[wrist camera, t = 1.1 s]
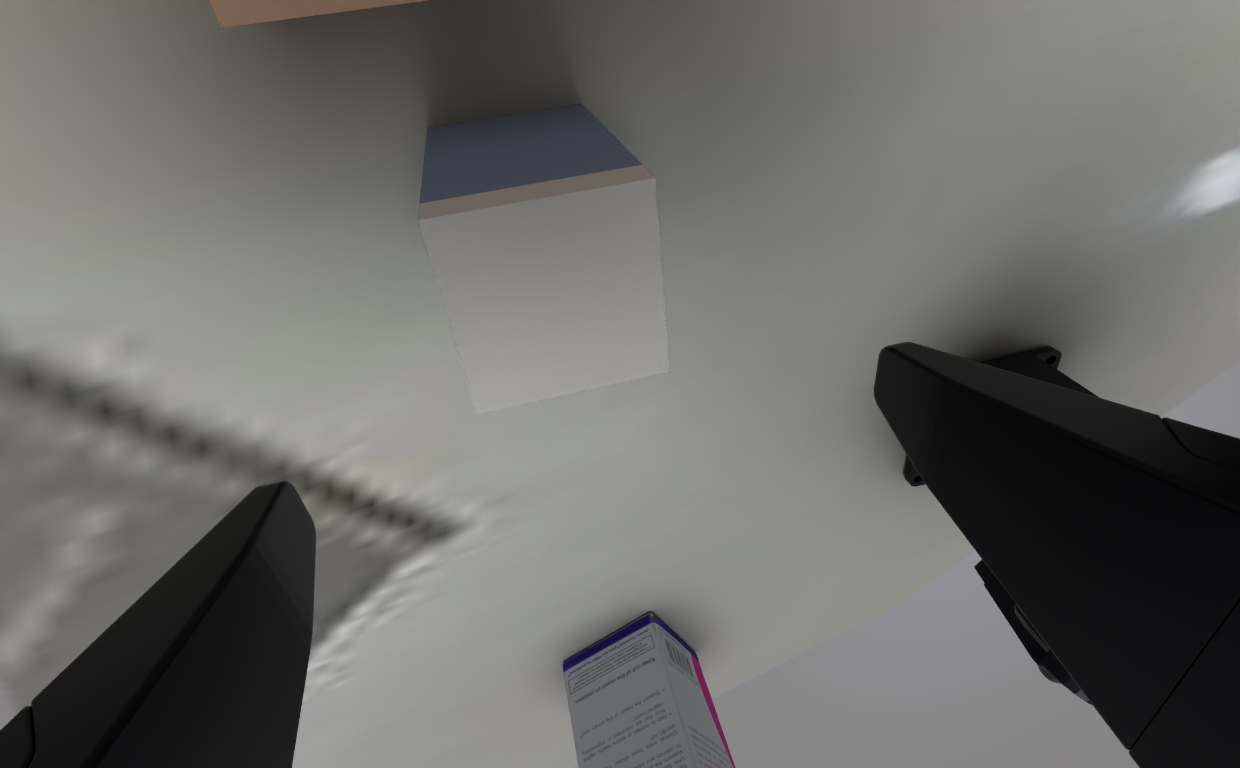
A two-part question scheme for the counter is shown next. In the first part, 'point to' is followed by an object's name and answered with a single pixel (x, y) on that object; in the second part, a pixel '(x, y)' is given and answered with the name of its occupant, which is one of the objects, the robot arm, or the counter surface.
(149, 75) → the counter surface
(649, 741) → the supplement box
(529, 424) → the counter surface
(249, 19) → the bin
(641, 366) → the block
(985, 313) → the counter surface
